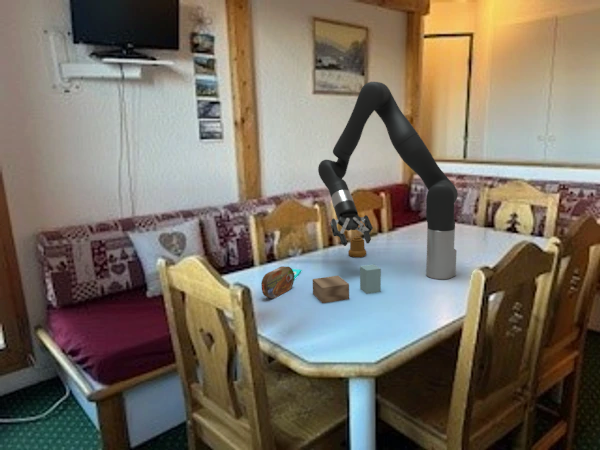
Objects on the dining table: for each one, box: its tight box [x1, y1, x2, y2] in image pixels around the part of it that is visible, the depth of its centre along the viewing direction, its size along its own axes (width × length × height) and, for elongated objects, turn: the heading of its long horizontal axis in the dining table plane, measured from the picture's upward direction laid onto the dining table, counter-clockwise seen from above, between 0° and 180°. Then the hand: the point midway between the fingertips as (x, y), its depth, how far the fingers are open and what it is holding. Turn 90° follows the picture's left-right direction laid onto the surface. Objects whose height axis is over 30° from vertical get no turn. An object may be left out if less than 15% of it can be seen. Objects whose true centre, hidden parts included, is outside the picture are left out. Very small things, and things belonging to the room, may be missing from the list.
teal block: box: [359, 263, 382, 295], centre depth 155 cm, size 5×5×8 cm
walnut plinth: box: [312, 275, 350, 304], centre depth 152 cm, size 9×9×5 cm
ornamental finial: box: [347, 235, 367, 258], centre depth 196 cm, size 8×8×8 cm
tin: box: [261, 265, 295, 299], centre depth 155 cm, size 15×3×8 cm, turn 146°
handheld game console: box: [291, 268, 303, 281], centre depth 172 cm, size 10×16×1 cm, turn 165°
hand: (357, 243), depth 163 cm, fingers open, 8 cm apart
